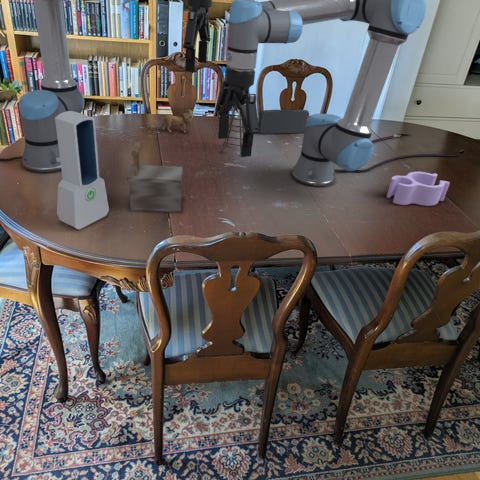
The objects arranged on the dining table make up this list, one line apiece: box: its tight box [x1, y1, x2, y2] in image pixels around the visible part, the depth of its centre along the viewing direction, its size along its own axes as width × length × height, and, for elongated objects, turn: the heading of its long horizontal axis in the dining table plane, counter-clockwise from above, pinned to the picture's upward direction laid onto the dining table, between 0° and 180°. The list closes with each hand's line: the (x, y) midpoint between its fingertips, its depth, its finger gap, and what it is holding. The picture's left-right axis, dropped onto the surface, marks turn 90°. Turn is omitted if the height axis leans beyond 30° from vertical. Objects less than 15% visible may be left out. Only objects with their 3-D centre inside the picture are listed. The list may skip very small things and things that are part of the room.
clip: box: [386, 171, 450, 207], centre depth 162 cm, size 20×12×7 cm, turn 109°
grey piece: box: [126, 141, 184, 184], centre depth 136 cm, size 16×9×9 cm, turn 94°
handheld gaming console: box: [258, 109, 310, 135], centre depth 205 cm, size 23×3×10 cm, turn 108°
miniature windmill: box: [221, 104, 245, 156], centre depth 177 cm, size 9×8×30 cm
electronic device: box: [55, 111, 110, 231], centre depth 124 cm, size 12×8×30 cm, turn 148°
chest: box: [128, 171, 183, 213], centre depth 141 cm, size 15×9×10 cm, turn 94°
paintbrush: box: [371, 133, 409, 144], centre depth 213 cm, size 31×3×1 cm, turn 126°
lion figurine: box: [158, 109, 194, 134], centre depth 194 cm, size 15×5×9 cm, turn 110°
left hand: (196, 66), depth 147 cm, fingers open, 13 cm apart
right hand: (233, 146), depth 130 cm, fingers open, 13 cm apart
